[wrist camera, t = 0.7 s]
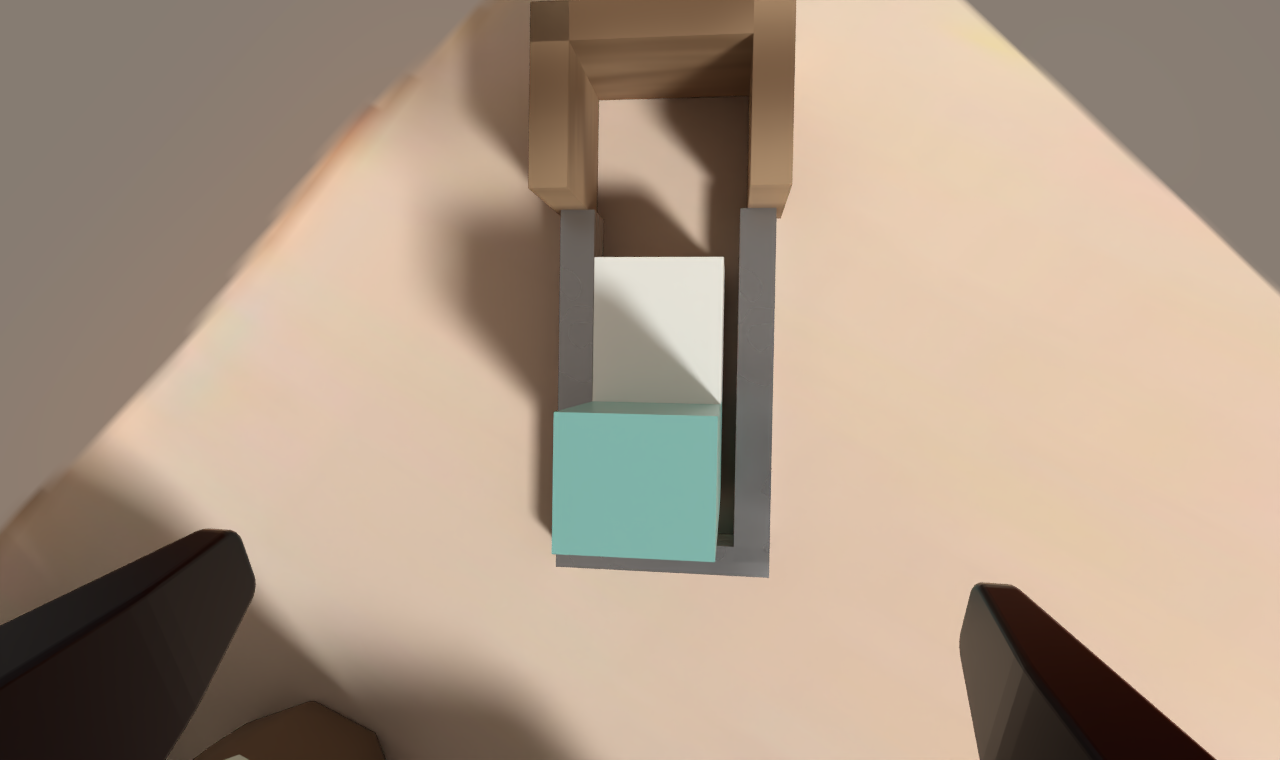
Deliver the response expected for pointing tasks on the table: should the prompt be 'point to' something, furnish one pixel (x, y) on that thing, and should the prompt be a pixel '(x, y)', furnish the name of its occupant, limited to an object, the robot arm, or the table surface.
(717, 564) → the rails
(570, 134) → the socket
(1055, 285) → the table surface
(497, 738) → the table surface
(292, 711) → the beer bottle
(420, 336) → the table surface
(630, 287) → the teal block
